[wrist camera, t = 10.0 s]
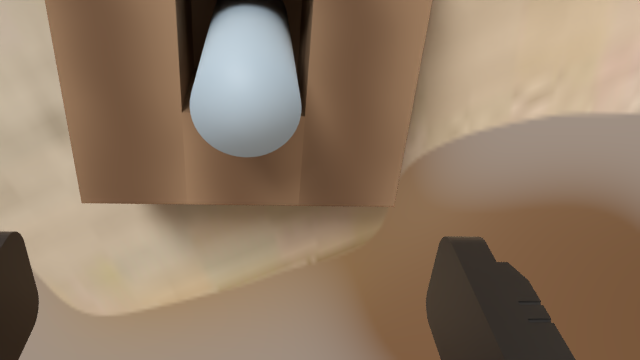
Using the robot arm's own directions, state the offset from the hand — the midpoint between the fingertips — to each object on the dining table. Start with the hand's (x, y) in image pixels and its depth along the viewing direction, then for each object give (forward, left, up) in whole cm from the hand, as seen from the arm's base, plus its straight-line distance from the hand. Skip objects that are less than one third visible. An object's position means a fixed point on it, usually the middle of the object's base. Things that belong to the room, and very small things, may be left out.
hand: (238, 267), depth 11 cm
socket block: (0, 0, -18) cm, 18 cm away
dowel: (0, 0, -17) cm, 17 cm away
